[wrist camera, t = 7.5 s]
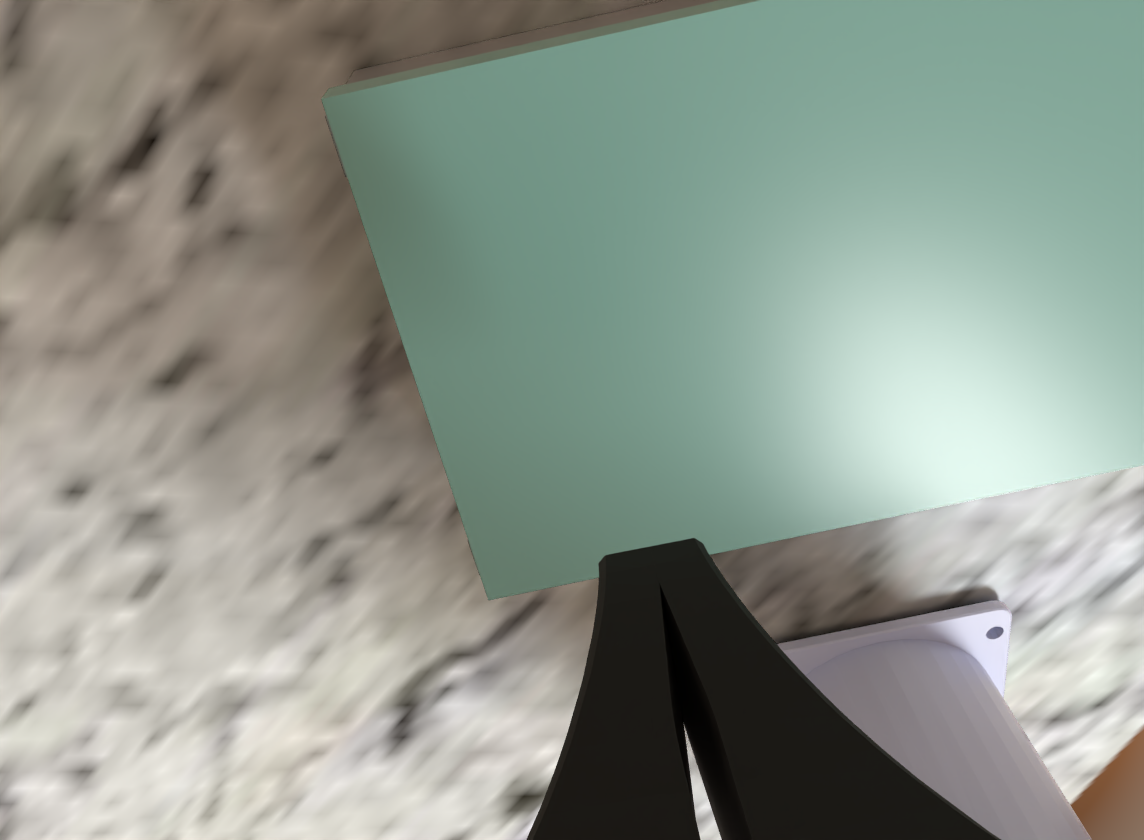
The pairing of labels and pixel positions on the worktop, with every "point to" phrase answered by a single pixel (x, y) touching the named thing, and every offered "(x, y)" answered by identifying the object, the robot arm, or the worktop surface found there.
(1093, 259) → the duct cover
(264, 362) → the worktop surface
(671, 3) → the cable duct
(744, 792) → the robot arm
